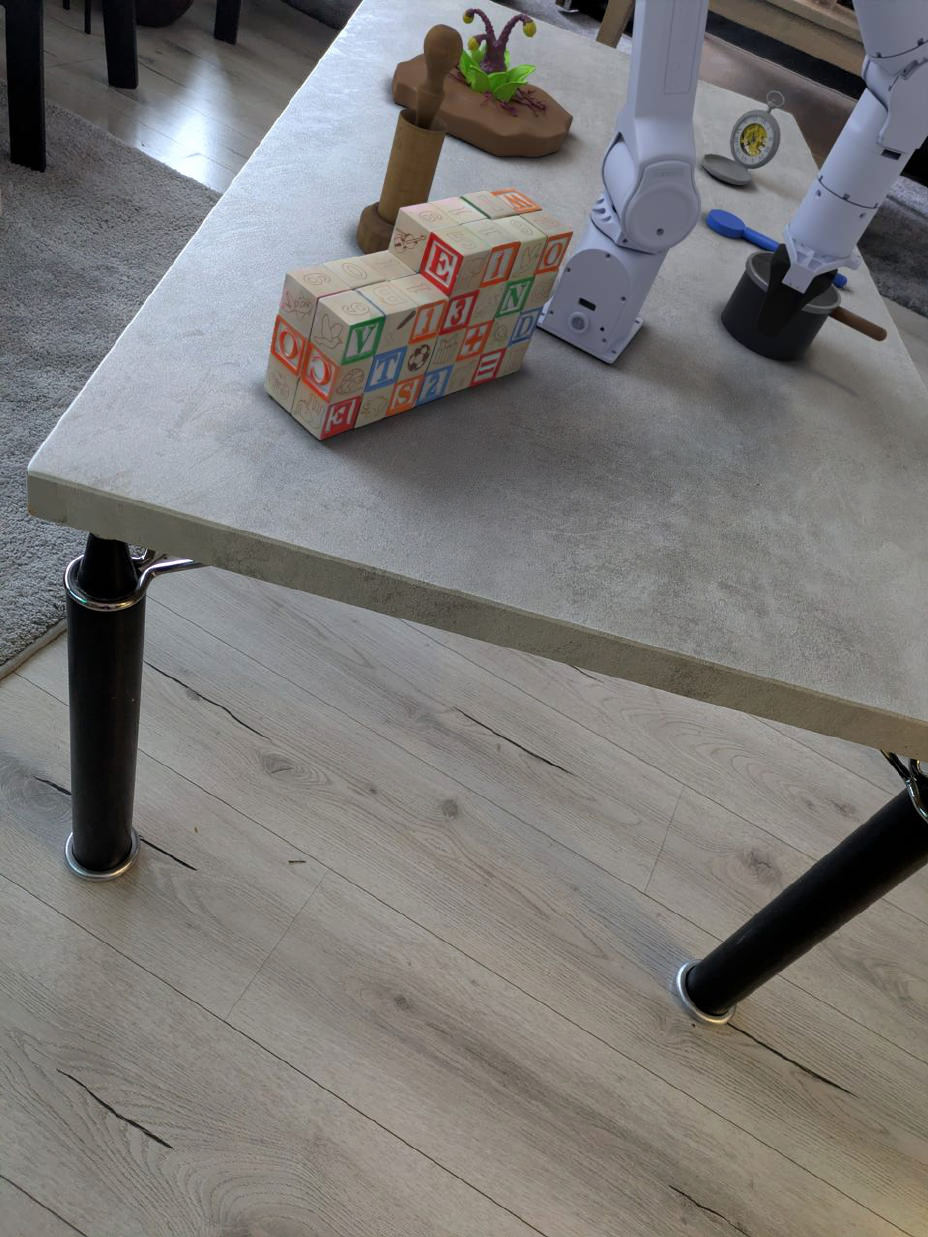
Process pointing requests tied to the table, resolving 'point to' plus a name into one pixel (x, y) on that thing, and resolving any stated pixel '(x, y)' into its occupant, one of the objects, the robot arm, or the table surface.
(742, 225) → the spoon
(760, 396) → the table surface
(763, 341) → the pot
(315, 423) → the stack of blocks
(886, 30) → the robot arm
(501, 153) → the plant
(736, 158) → the pocket watch
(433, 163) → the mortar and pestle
